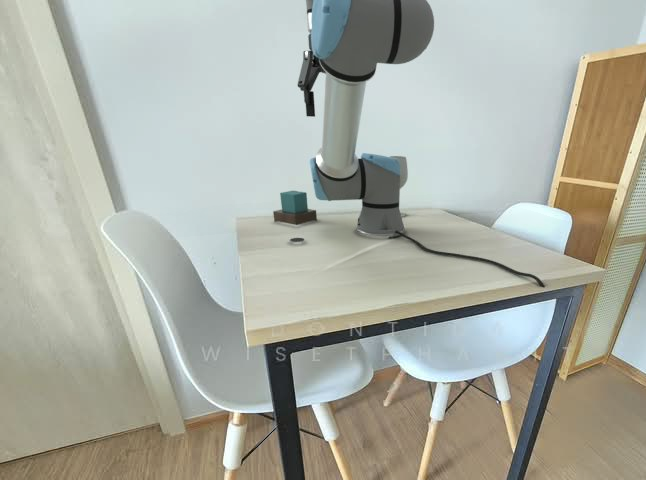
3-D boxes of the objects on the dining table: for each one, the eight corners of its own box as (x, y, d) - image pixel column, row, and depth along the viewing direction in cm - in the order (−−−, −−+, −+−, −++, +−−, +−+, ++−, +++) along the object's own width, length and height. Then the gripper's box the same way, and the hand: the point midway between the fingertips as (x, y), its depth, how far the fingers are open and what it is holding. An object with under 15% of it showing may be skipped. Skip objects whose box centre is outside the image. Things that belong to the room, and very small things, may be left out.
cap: (307, 242, 103) (307, 239, 102) (297, 246, 100) (297, 242, 99) (297, 240, 104) (296, 236, 104) (287, 243, 101) (286, 240, 101)
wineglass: (409, 216, 136) (412, 157, 127) (391, 218, 133) (392, 157, 124) (400, 212, 142) (402, 155, 133) (383, 213, 139) (383, 155, 130)
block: (307, 210, 122) (306, 192, 119) (295, 213, 117) (293, 194, 115) (294, 208, 125) (293, 190, 122) (282, 211, 120) (280, 192, 117)
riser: (317, 221, 125) (316, 210, 123) (296, 227, 117) (295, 215, 115) (295, 217, 129) (294, 206, 127) (274, 223, 121) (273, 211, 119)
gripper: (338, 44, 114) (340, 118, 123) (279, 25, 94) (287, 115, 104) (357, 42, 111) (358, 118, 120) (300, 22, 91) (307, 116, 100)
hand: (325, 117), depth 112 cm, fingers open, 13 cm apart
